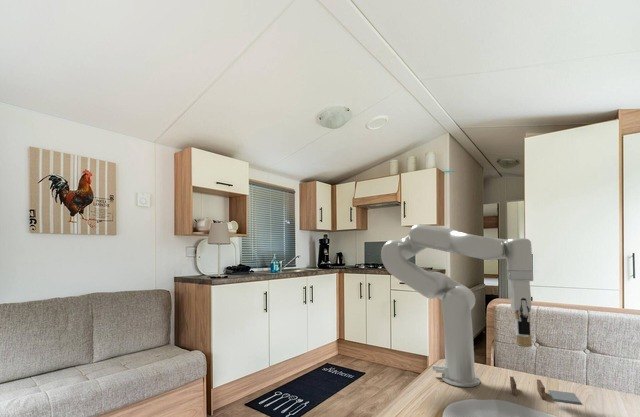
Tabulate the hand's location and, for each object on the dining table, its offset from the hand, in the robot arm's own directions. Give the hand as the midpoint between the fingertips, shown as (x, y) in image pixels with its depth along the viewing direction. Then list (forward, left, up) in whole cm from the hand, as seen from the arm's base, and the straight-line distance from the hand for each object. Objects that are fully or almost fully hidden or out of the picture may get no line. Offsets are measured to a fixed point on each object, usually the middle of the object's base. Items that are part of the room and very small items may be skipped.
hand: (523, 331), depth 117 cm
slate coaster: (+10, 0, -19) cm, 22 cm away
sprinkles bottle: (0, 0, -5) cm, 5 cm away
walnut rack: (0, 0, -19) cm, 19 cm away
